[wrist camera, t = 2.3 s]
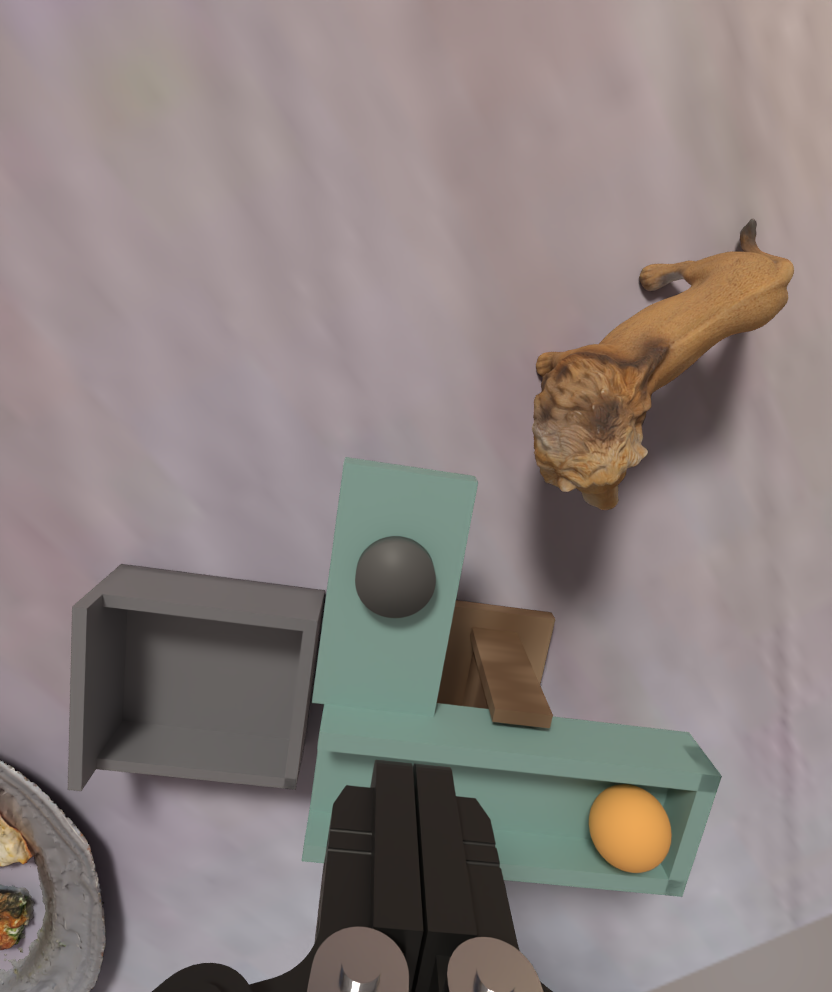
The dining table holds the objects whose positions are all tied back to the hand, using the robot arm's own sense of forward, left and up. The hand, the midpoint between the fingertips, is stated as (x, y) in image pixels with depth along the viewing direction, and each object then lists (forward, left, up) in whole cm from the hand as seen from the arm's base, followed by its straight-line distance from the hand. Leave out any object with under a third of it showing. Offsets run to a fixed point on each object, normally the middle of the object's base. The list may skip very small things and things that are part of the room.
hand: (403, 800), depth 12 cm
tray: (+8, +9, -20) cm, 23 cm away
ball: (-11, +9, -11) cm, 18 cm away
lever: (-6, +4, -13) cm, 15 cm away
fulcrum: (-6, +9, -20) cm, 22 cm away
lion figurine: (-10, -9, -20) cm, 24 cm away
